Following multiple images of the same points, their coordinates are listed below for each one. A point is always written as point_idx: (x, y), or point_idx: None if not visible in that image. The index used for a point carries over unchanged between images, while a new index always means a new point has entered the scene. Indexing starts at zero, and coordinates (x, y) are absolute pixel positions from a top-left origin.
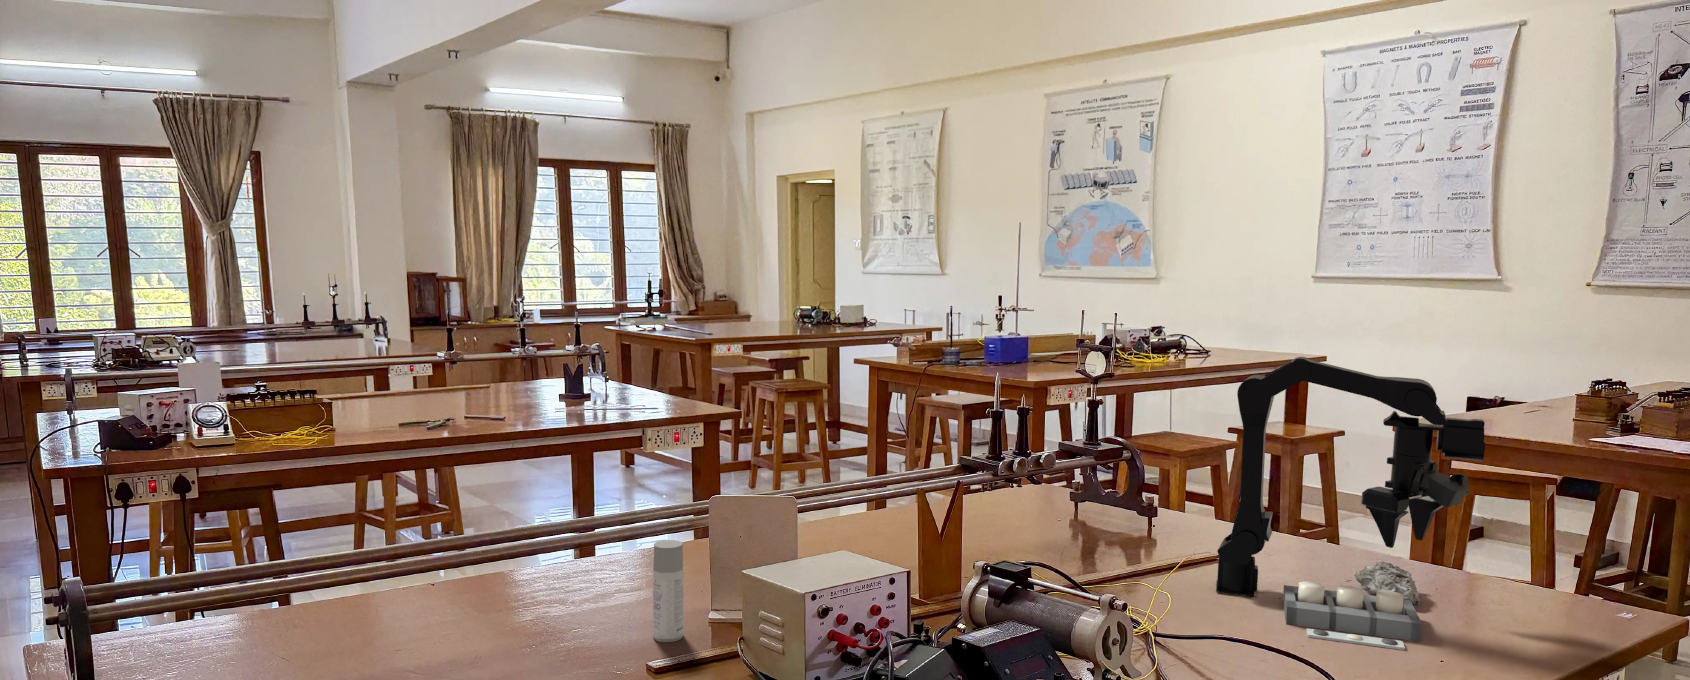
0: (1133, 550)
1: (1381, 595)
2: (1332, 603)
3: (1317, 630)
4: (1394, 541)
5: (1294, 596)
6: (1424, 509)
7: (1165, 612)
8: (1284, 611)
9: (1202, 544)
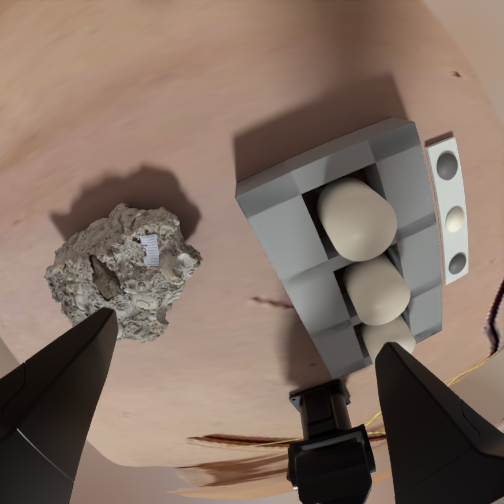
0: (255, 463)
1: (389, 241)
2: None
3: (453, 270)
4: (408, 359)
5: None
6: (31, 463)
7: None
8: None
9: (169, 447)
